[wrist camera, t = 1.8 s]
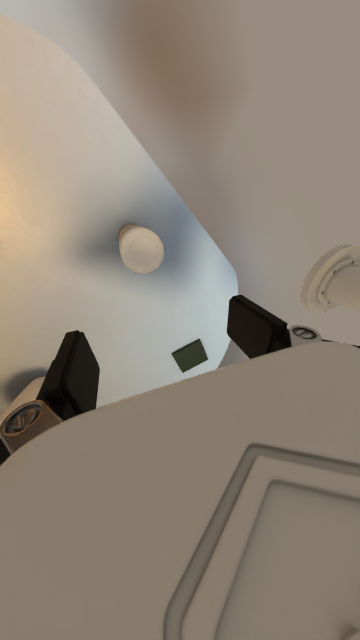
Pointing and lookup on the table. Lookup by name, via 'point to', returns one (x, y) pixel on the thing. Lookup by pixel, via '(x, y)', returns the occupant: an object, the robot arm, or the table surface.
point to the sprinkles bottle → (140, 248)
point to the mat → (190, 355)
